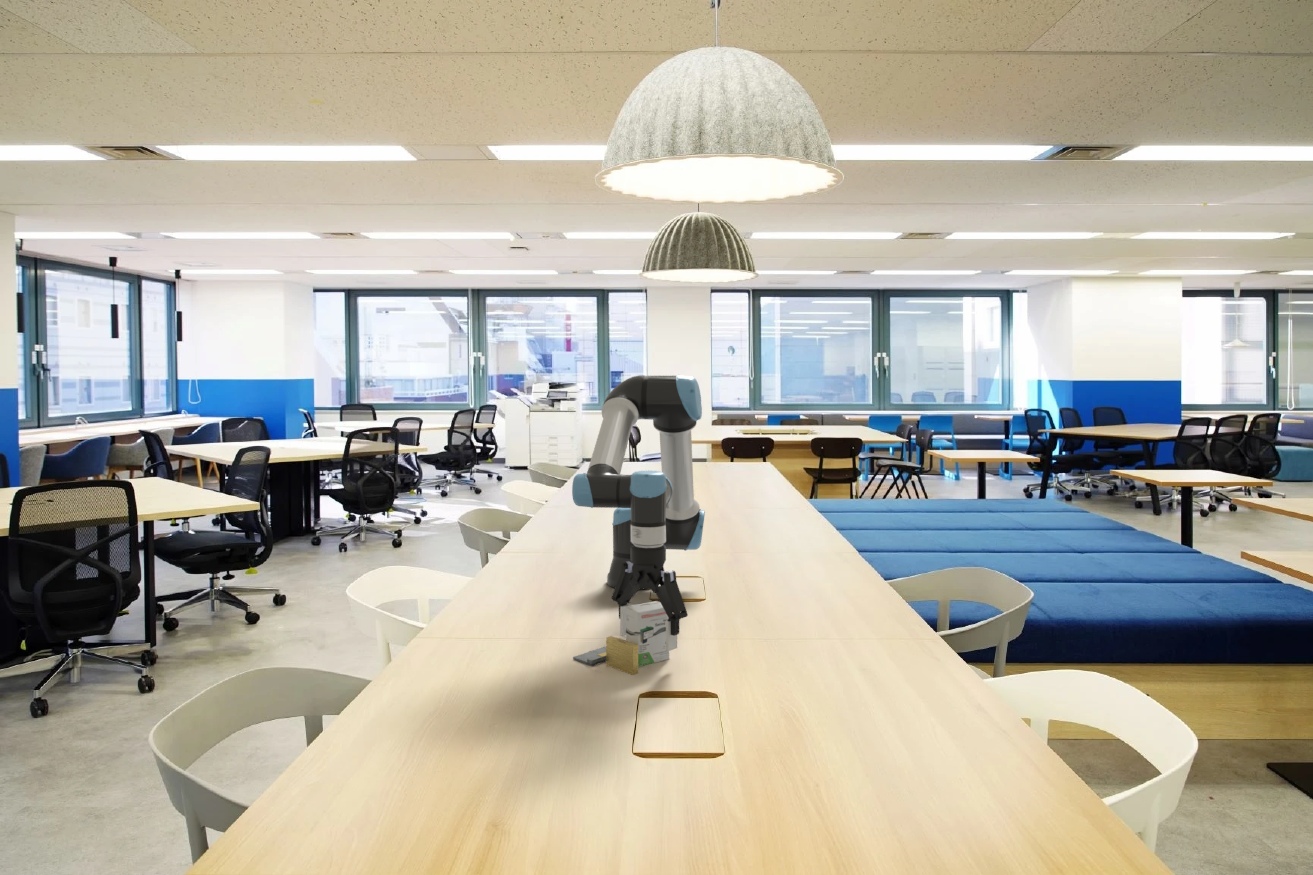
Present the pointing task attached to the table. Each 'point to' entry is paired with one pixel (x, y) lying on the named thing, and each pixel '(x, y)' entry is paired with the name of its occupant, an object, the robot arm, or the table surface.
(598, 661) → the rail
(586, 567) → the table surface
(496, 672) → the table surface
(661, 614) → the ink box
